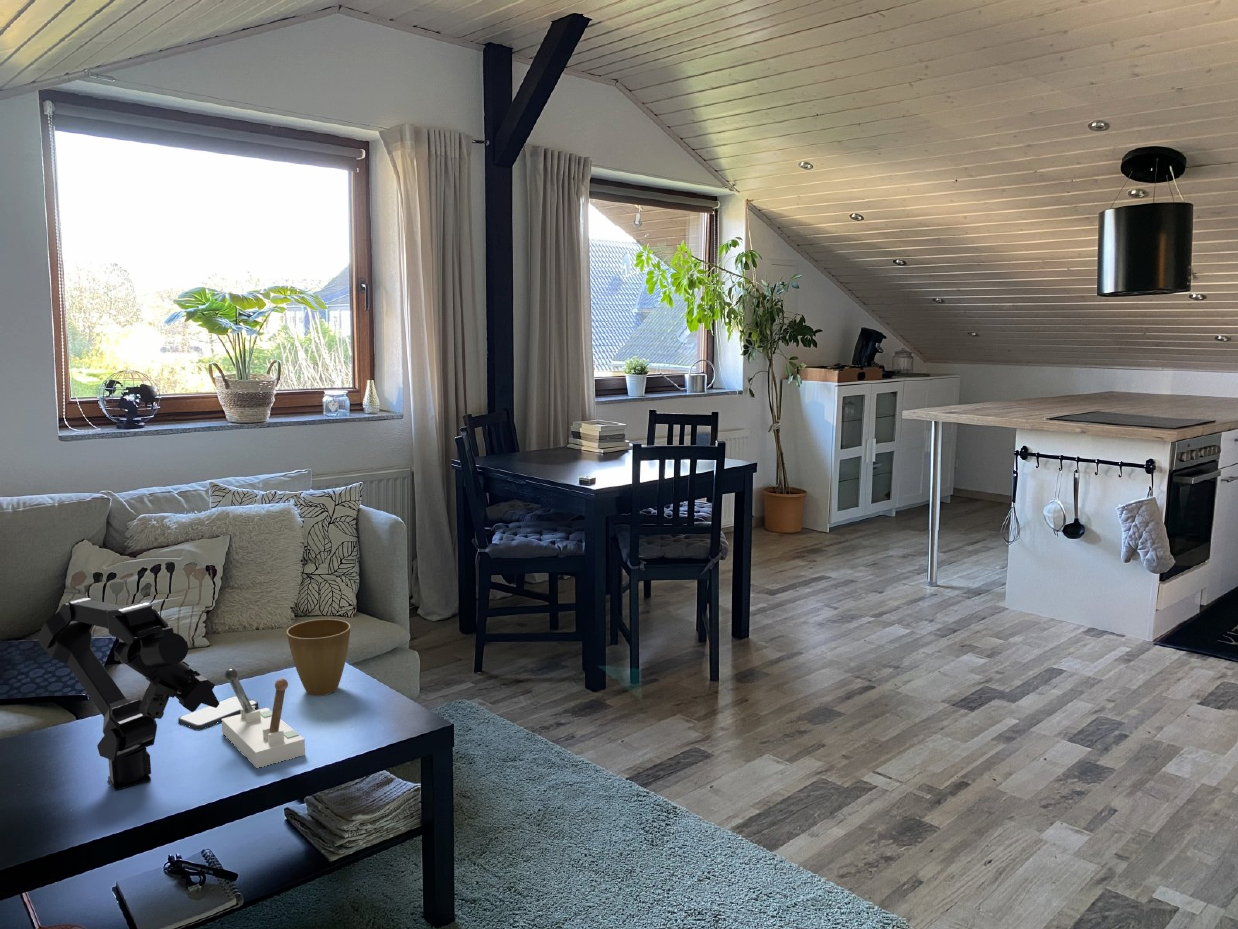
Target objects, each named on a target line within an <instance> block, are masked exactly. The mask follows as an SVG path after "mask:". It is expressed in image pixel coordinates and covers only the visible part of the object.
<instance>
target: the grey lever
mask: <svg viewBox="0 0 1238 929" xmlns="http://www.w3.org/2000/svg"><path fill="white" fill-rule="evenodd" d="M224 678H225V680H226V681H228V682H229V683H230V686H231V688H232V690H233V692H234V694H235V696H237V698H238V700H239V702H240V704H241V706H242V708H243V710H244V712H245V713H249V712H253V708H252V706H251V704H250V702H249V700H248V699H249V697H248V696H247V694H246V692H245V690H244V688H243V686H242V684H241V682H240V680H239V678H238V671H237V670H236V669H235V668H228V669H226V671H225V672H224Z"/></svg>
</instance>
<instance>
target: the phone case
mask: <svg viewBox="0 0 1238 929" xmlns="http://www.w3.org/2000/svg"><path fill="white" fill-rule="evenodd" d="M248 700H249V702H250V704H251V706H255V708H257V709H258V708H259V701H257V700H254V699H251V698H248ZM240 709H243V708H242V706H241V704H240V702H239V700H238V698H237V696H236V695H235V696H231V697H229V698H227V699H223V700H221V701H219V705H218V707H217V708H214V707H211V706H208V705H206V706H205V707H202V708H200V709H196V710H195V711H194V712H188V713H187V714H184V715H182V716H179V717H178V719H177V721H178V722H179V723H178V722H177V723H178V724H180V723H182V724H184V725H183V726H185V725H186V726H185V727H188V726H190V727H192V728H191V729H193V728H194V729H193V730H196V729H200V730H204V729H206V728H205V727H207V726H209V727H211V725H212V726H214V725H213V724H215V725H216V723H217V722H220V723H222V722H221V721H222V720H221V719H223V718H227V717H231V716H235V715H239V714H241V710H240ZM182 724H181V725H182ZM217 724H218V723H217ZM190 727H189V728H190ZM203 728H204V729H203ZM207 728H208V727H207Z"/></svg>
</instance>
